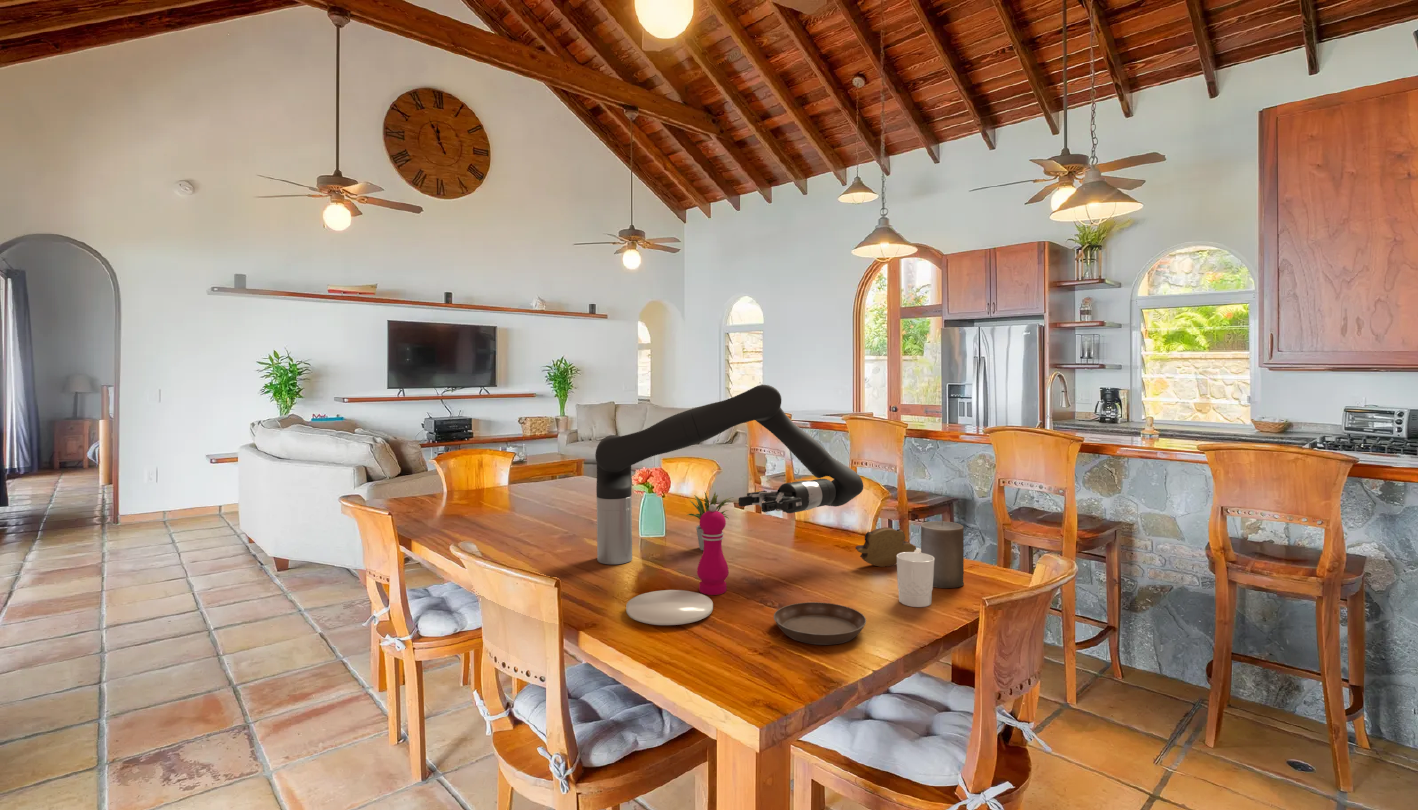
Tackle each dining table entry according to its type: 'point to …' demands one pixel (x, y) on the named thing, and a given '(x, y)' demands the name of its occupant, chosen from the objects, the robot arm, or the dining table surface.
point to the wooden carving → (884, 546)
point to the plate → (669, 607)
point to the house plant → (702, 511)
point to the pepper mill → (712, 554)
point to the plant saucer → (819, 622)
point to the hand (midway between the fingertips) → (750, 504)
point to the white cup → (915, 578)
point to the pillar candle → (944, 551)
